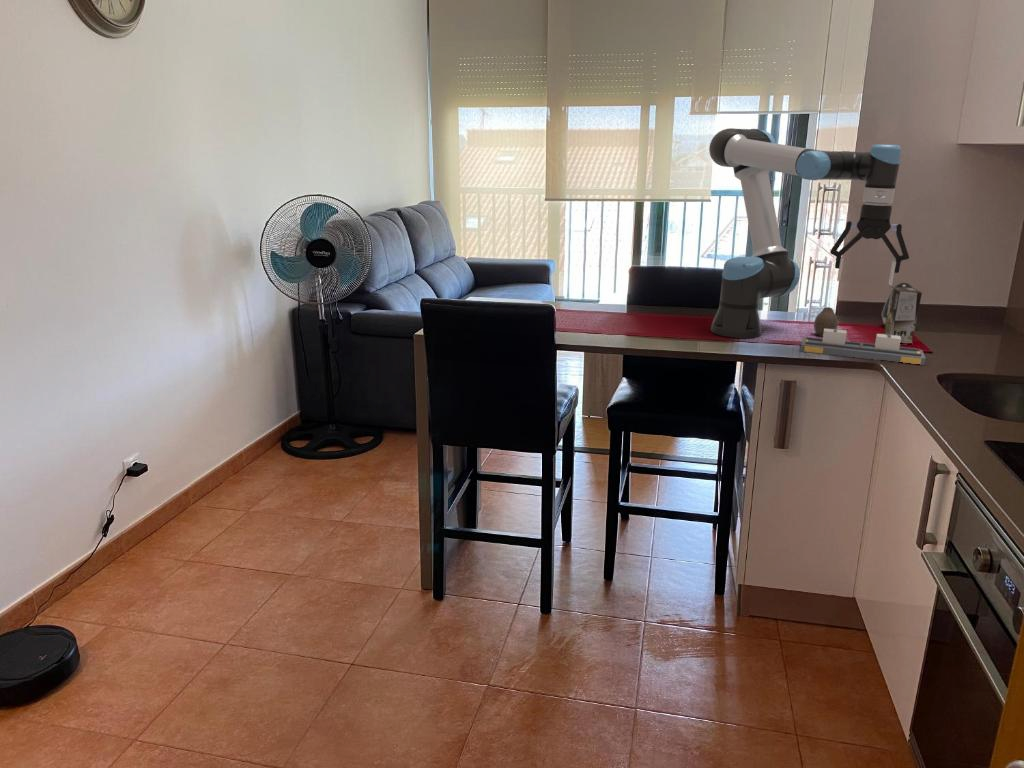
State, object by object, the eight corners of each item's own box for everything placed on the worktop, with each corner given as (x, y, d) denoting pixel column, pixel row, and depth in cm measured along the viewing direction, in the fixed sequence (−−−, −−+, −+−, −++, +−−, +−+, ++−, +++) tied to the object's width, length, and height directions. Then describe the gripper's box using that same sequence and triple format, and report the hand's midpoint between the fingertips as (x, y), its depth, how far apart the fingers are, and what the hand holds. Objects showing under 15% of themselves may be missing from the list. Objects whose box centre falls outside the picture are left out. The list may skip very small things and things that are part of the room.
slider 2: (875, 350, 212) (877, 335, 211) (874, 347, 215) (877, 332, 214) (898, 353, 210) (901, 338, 208) (897, 349, 213) (900, 335, 212)
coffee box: (912, 345, 227) (922, 292, 222) (890, 343, 228) (899, 291, 223) (904, 338, 236) (913, 287, 231) (882, 336, 237) (891, 285, 232)
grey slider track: (800, 351, 217) (801, 342, 216) (801, 343, 226) (803, 335, 225) (924, 365, 205) (926, 356, 204) (920, 356, 214) (922, 347, 213)
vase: (839, 335, 237) (843, 308, 234) (831, 339, 232) (835, 311, 230) (817, 331, 242) (821, 304, 239) (809, 335, 237) (812, 307, 234)
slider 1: (821, 344, 217) (824, 330, 216) (822, 341, 221) (824, 327, 219) (844, 347, 215) (846, 332, 214) (844, 343, 218) (846, 329, 217)
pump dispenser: (915, 327, 251) (923, 281, 246) (912, 333, 242) (920, 286, 238) (882, 322, 256) (889, 278, 251) (877, 328, 248) (885, 282, 243)
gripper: (828, 202, 205) (816, 280, 211) (929, 207, 196) (914, 288, 203) (828, 201, 212) (817, 276, 218) (926, 205, 203) (911, 284, 209)
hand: (864, 282), depth 210 cm, fingers open, 12 cm apart
